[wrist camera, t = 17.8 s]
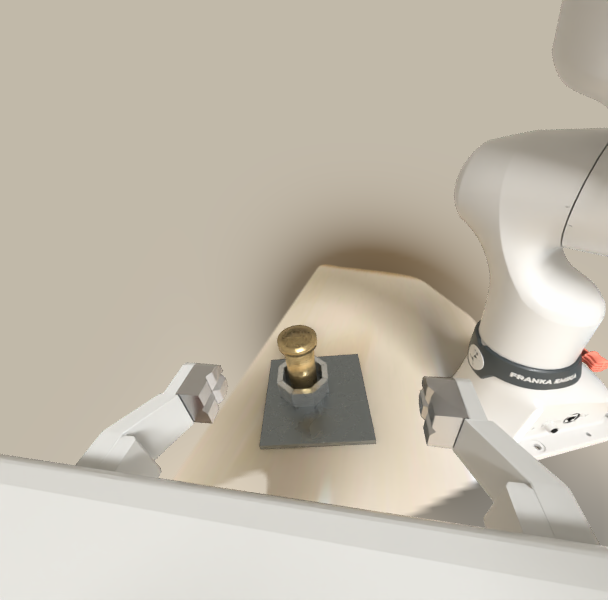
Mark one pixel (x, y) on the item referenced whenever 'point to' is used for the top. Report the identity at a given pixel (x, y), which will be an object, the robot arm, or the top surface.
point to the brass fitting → (299, 355)
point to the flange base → (318, 407)
